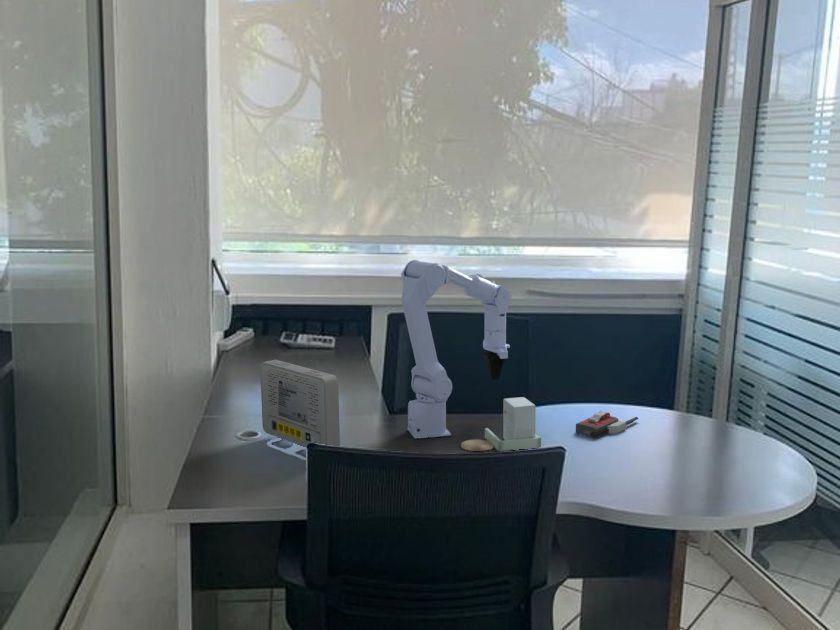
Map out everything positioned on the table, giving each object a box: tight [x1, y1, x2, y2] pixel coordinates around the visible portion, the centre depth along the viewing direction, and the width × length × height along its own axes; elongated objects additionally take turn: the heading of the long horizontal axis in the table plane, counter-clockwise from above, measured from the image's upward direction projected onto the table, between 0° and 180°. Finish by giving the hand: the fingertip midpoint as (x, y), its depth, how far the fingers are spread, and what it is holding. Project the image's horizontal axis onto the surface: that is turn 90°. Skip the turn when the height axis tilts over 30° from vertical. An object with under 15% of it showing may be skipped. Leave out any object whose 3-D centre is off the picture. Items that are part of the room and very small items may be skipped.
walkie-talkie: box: [575, 410, 639, 439], centre depth 223 cm, size 9×4×20 cm
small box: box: [502, 396, 536, 440], centre depth 212 cm, size 8×6×10 cm
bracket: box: [484, 427, 542, 452], centre depth 212 cm, size 11×11×2 cm
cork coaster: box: [460, 439, 495, 452], centre depth 210 cm, size 8×8×1 cm
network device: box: [259, 359, 341, 447], centre depth 208 cm, size 26×9×20 cm, turn 45°
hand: (494, 379), depth 232 cm, fingers closed
